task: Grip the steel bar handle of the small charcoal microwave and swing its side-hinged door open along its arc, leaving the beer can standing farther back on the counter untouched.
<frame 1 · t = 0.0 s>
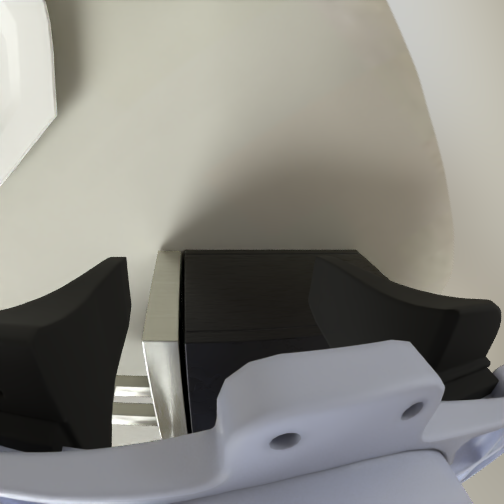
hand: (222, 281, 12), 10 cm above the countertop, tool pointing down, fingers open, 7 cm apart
microwave door: (134, 368, 19), point 5 cm above the countertop, hinge at 0.0°
microwave: (264, 347, 27), on the countertop
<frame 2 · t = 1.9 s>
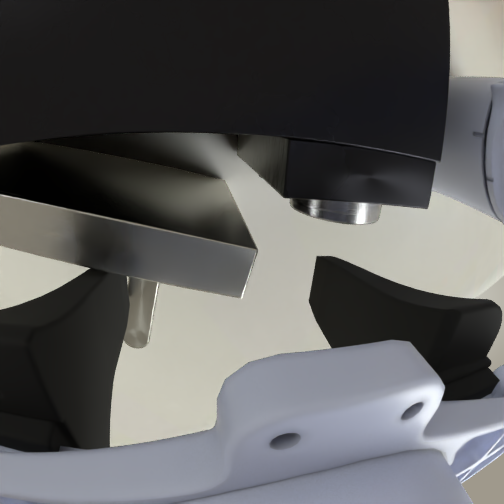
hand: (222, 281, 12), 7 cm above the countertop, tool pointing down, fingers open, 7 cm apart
microwave door: (78, 245, 13), point 5 cm above the countertop, hinge at 12.6°, touching gripper
microwave: (174, 13, 13), on the countertop
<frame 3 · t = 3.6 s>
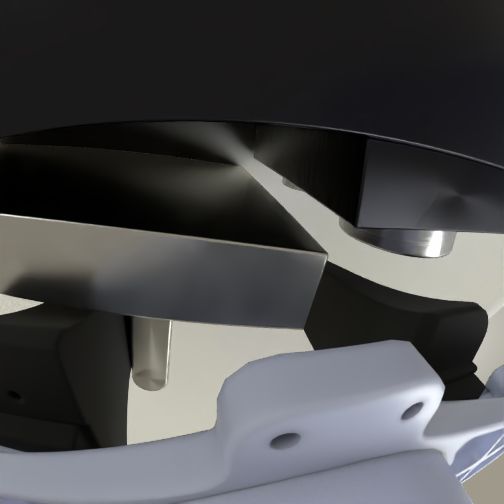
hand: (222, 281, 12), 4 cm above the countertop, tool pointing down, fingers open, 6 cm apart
microwave door: (64, 264, 9), point 5 cm above the countertop, hinge at 8.1°, touching gripper
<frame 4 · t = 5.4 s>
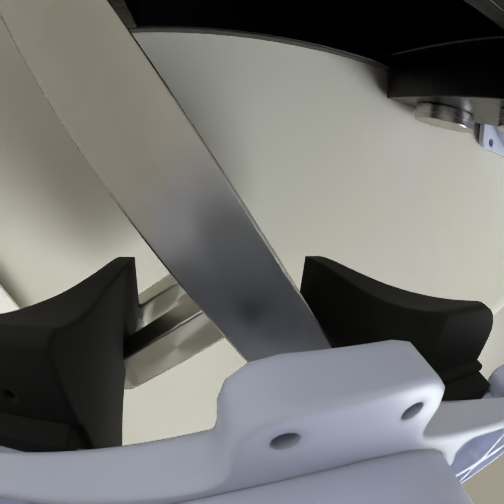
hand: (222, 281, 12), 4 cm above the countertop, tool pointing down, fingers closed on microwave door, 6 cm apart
microwave door: (127, 228, 9), point 5 cm above the countertop, hinge at 53.4°, touching gripper
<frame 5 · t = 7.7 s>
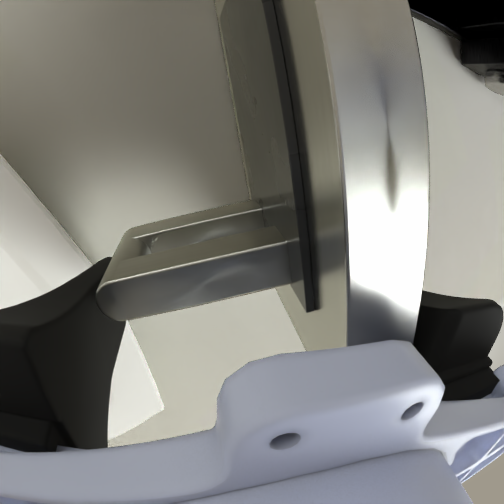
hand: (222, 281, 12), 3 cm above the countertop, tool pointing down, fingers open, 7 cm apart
microwave door: (194, 133, 8), point 5 cm above the countertop, hinge at 75.6°, touching gripper
plate: (0, 328, 14), on the countertop
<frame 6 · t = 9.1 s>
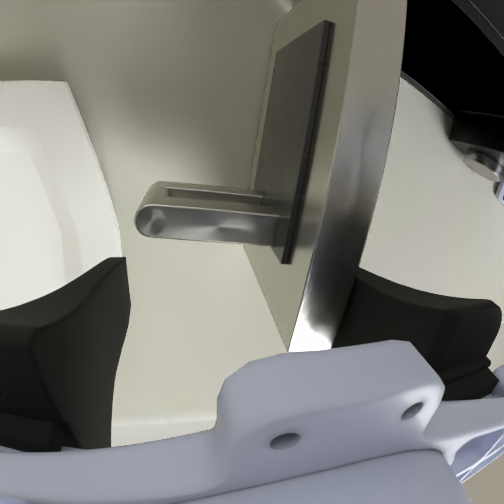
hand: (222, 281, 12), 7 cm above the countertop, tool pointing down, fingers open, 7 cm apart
microwave door: (238, 128, 11), point 5 cm above the countertop, hinge at 76.0°, touching gripper
microwave: (439, 20, 15), on the countertop
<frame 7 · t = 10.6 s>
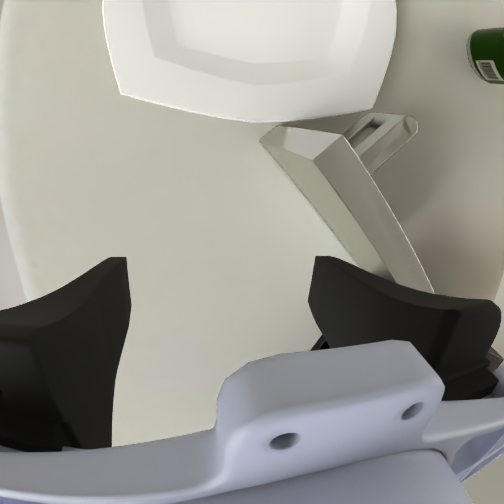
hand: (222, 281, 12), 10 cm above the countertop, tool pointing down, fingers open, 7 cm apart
microwave door: (384, 195, 18), point 5 cm above the countertop, hinge at 110.2°
microwave: (362, 358, 30), on the countertop
beer can: (480, 56, 20), on the countertop
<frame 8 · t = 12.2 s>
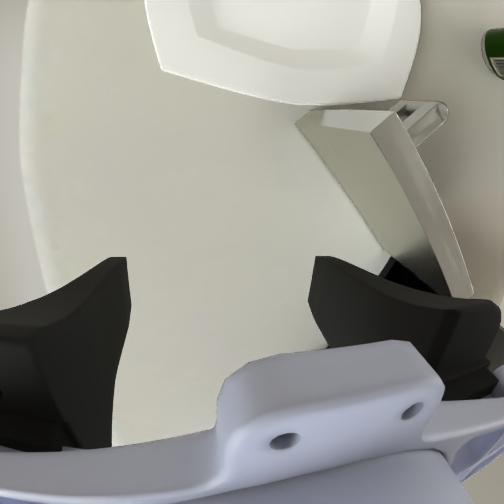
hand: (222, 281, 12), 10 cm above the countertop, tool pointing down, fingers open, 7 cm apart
microwave door: (416, 178, 18), point 5 cm above the countertop, hinge at 110.2°
microwave: (383, 345, 30), on the countertop
beer can: (493, 54, 20), on the countertop
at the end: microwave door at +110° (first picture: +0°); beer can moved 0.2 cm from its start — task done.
